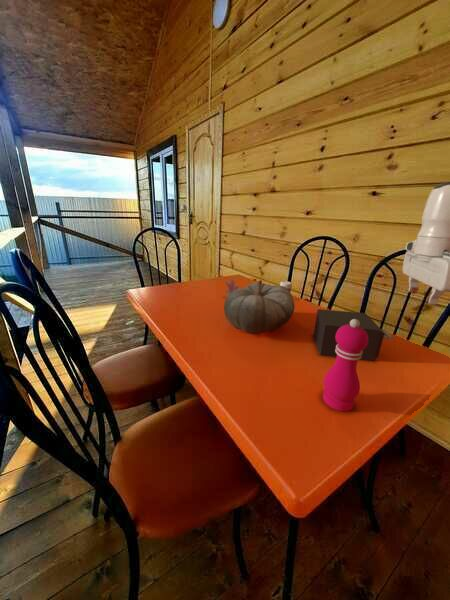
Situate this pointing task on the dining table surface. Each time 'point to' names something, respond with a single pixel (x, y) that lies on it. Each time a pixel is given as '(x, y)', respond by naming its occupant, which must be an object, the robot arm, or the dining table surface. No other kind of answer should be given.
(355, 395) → the pepper mill
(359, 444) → the dining table surface
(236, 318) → the gourd
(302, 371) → the dining table surface
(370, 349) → the cabinet
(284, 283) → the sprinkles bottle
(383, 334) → the drawer
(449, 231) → the robot arm
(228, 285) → the lily
